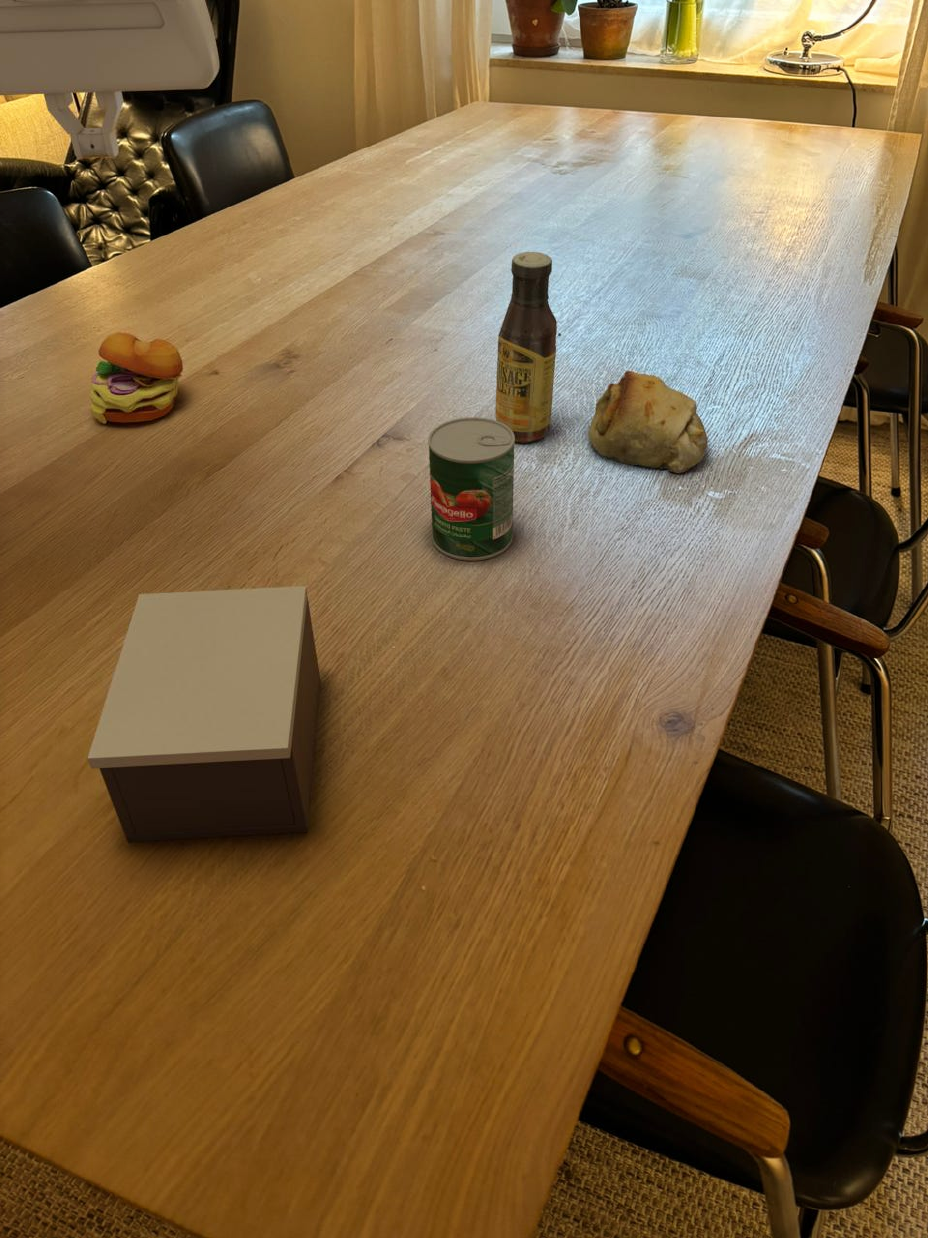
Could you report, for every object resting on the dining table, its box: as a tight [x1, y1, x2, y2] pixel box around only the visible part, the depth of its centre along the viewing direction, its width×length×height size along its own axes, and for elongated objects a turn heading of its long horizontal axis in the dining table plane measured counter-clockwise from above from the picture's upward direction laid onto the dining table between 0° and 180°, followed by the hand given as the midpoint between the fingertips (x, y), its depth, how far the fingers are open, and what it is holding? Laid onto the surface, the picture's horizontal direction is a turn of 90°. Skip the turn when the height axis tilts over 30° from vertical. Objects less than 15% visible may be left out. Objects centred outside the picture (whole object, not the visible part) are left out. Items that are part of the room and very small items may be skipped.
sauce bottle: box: [494, 251, 558, 444], centre depth 106 cm, size 6×6×20 cm
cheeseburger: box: [89, 331, 184, 425], centre depth 116 cm, size 10×11×10 cm
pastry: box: [588, 370, 709, 474], centre depth 107 cm, size 14×12×8 cm
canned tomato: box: [427, 416, 516, 562], centre depth 93 cm, size 8×8×11 cm
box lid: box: [86, 585, 308, 769], centre depth 69 cm, size 17×13×1 cm
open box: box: [98, 596, 321, 843], centre depth 73 cm, size 16×13×9 cm
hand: (98, 155), depth 76 cm, fingers closed
